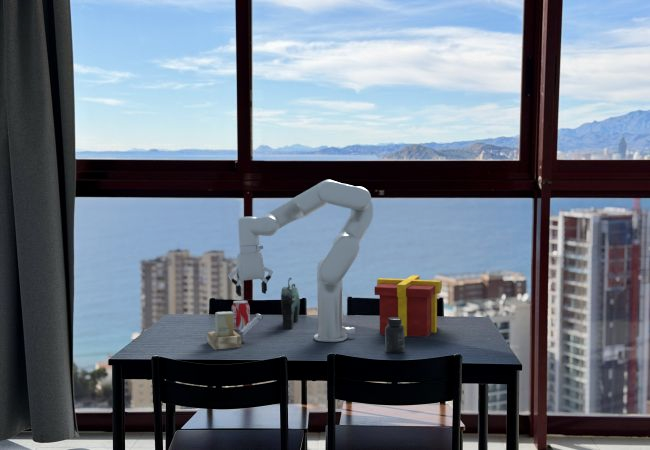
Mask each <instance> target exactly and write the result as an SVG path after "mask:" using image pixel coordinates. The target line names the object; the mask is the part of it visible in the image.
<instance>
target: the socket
mask: <svg viewBox="0 0 650 450" xmlns="http://www.w3.org/2000/svg"><path fill="white" fill-rule="evenodd" d="M206 342H207V344H208V345H209V346H210V347H211V348H212V349H213V350H216V351H217V350H227V349H237V348H242V343H241V336H240V335H239V334H237V333H236V332H235V331H234V336H230V337H218V338H217V337H216V336H215V331H207V332H206ZM236 347H237V348H236Z"/></svg>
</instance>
